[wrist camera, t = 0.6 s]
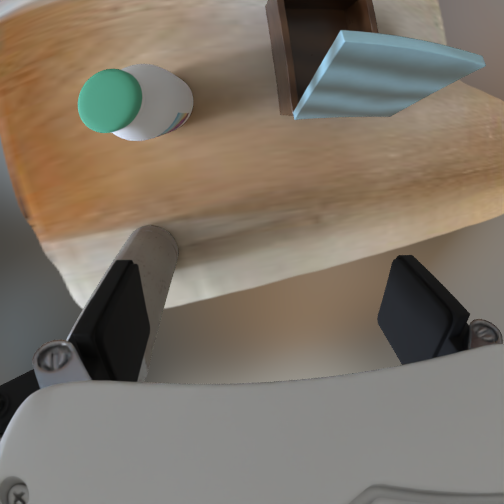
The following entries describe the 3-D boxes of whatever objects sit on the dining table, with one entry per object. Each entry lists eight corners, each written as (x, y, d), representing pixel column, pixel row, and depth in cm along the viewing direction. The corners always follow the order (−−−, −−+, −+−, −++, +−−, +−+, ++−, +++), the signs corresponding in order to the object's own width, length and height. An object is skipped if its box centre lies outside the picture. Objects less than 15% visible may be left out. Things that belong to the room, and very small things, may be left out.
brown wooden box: (265, 6, 29) (273, -15, 22) (346, 7, 29) (370, -9, 22) (280, 114, 36) (292, 116, 29) (360, 110, 36) (387, 113, 29)
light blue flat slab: (340, 29, 12) (344, 41, 13) (482, 55, 13) (486, 66, 13) (292, 112, 29) (294, 119, 29) (388, 109, 29) (390, 116, 29)
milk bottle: (137, 76, 32) (61, 55, 14) (196, 75, 33) (165, 42, 15) (134, 133, 36) (57, 158, 18) (192, 133, 36) (157, 155, 19)
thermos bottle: (178, 276, 45) (143, 445, 20) (128, 271, 44) (60, 426, 19) (179, 227, 42) (127, 391, 17) (125, 223, 41) (28, 368, 16)
